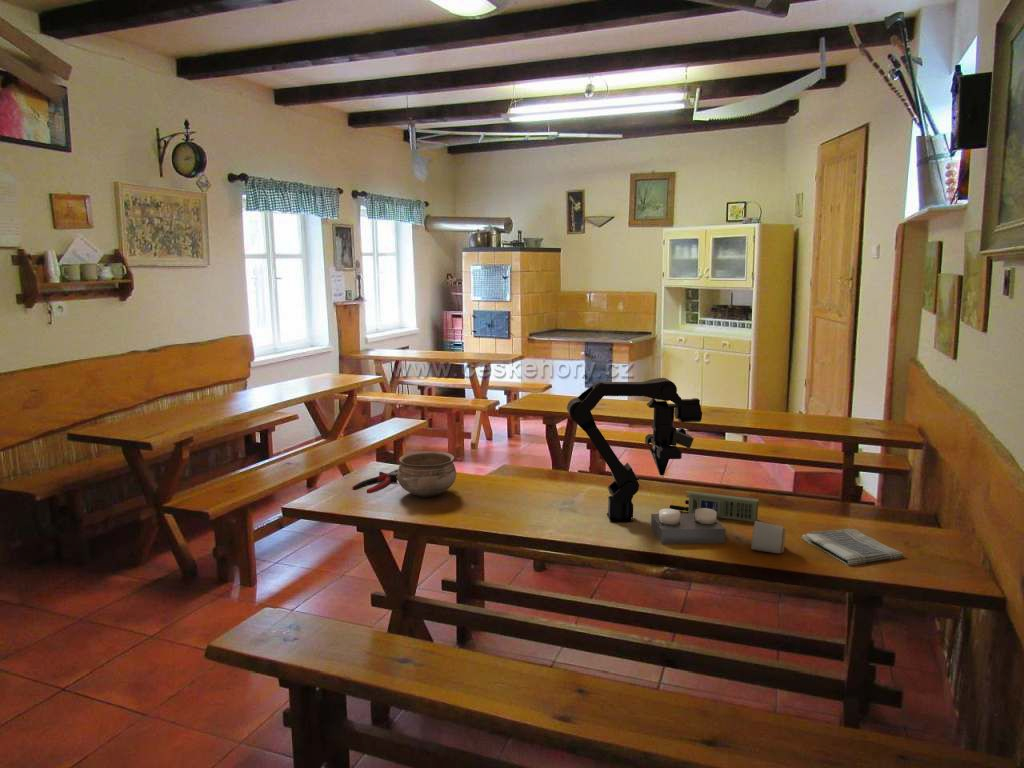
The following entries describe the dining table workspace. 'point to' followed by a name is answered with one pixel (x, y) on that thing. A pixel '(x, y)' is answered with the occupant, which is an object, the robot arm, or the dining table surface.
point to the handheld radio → (722, 506)
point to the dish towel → (851, 546)
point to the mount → (687, 531)
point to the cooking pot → (426, 473)
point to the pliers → (382, 477)
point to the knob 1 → (669, 516)
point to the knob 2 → (705, 516)
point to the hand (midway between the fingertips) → (661, 475)
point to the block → (768, 537)
